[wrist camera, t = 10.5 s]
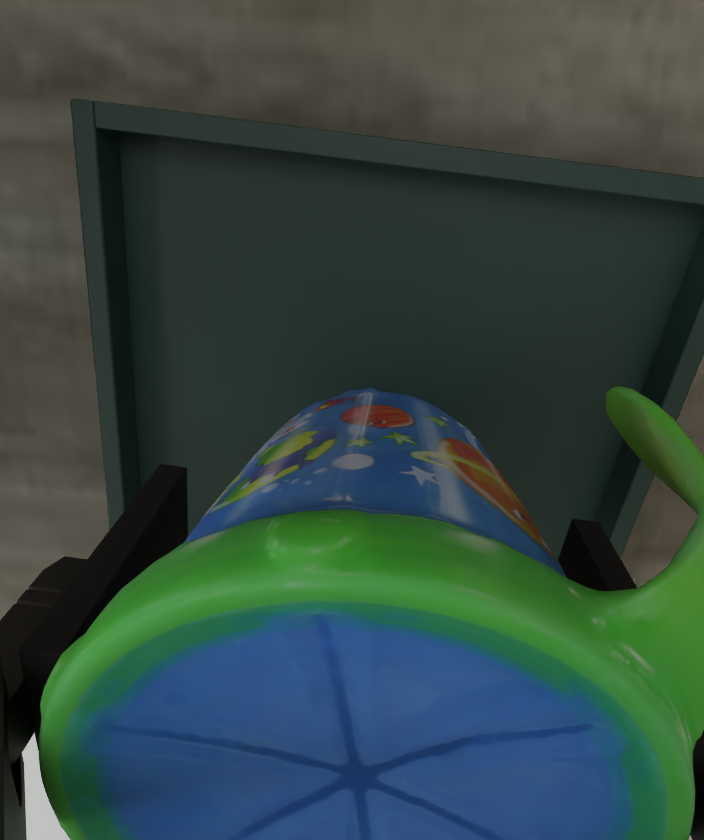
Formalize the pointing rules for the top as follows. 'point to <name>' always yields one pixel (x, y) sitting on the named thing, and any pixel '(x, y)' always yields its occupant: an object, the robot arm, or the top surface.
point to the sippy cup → (385, 655)
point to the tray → (380, 299)
